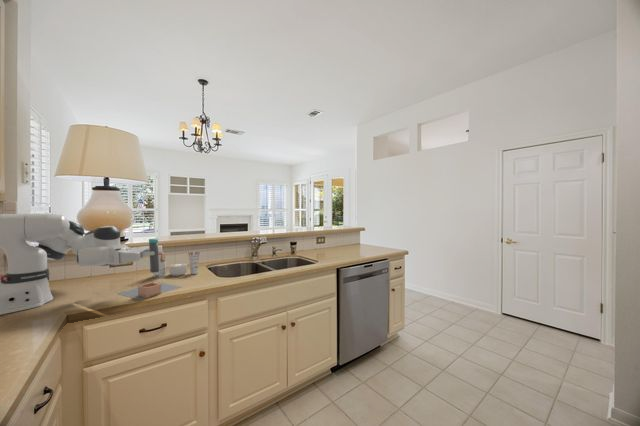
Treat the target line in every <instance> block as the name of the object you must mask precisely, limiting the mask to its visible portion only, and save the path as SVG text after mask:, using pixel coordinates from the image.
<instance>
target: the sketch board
mask: <svg viewBox="0 0 640 426" xmlns="http://www.w3.org/2000/svg"><path fill="white" fill-rule="evenodd" d="M157 283H159V284H161V294H160V295H162V294H164V293H168V292H170V291H174V290H178V289H180V288H182V286H181V285H175V284H171V283H166V282H161V281H159V282H157ZM117 294H118V295H121V296H124V297H128V298H132V299H134V300H139V301H143V300H146V299H148V298H152V297H155V296H156V295H154V296H151V297H148V298H145V297H141V296H138V287H137V288H132V289H128V290H125V291H121V292H118V293H117Z"/></svg>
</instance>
